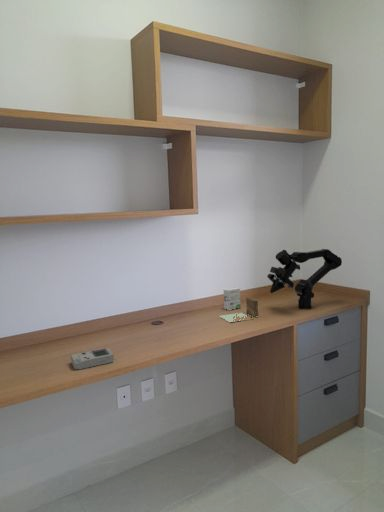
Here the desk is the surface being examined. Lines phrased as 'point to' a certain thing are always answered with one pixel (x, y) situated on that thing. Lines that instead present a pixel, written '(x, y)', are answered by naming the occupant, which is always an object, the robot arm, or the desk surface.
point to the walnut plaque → (252, 307)
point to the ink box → (231, 298)
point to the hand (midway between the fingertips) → (270, 292)
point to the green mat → (230, 316)
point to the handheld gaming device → (92, 358)
